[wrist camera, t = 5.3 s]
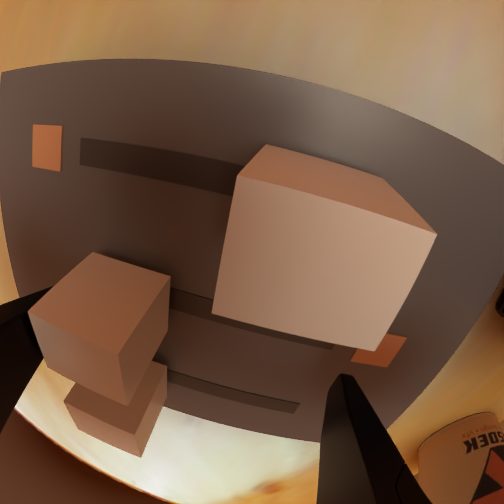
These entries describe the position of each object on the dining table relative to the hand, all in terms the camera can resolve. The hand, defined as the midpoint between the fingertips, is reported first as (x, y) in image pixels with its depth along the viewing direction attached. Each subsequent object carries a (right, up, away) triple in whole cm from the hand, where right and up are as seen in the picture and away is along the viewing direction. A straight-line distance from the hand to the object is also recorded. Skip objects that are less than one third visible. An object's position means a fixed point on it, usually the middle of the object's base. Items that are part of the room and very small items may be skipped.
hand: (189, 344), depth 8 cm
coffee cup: (+19, -13, +9) cm, 25 cm away
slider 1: (-2, +1, +1) cm, 3 cm away
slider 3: (+3, +4, -1) cm, 5 cm away
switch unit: (+1, +2, +4) cm, 5 cm away
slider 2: (-3, -3, +4) cm, 5 cm away
